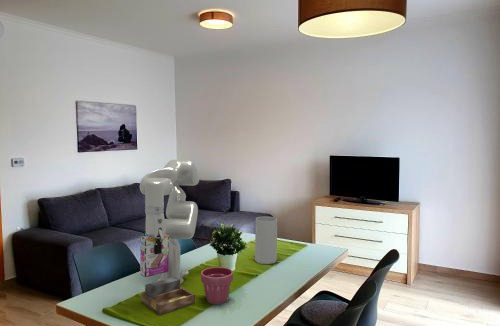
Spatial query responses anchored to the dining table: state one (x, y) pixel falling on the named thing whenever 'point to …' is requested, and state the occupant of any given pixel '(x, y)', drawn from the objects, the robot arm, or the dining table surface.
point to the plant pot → (216, 283)
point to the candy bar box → (153, 256)
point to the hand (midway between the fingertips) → (154, 251)
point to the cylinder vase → (266, 240)
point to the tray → (166, 296)
